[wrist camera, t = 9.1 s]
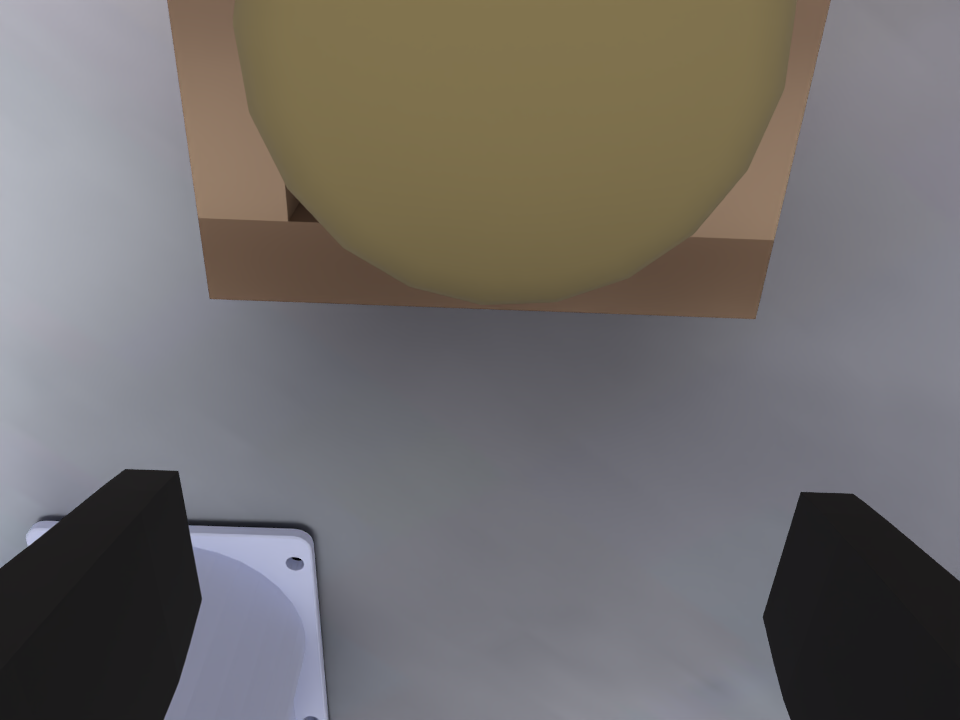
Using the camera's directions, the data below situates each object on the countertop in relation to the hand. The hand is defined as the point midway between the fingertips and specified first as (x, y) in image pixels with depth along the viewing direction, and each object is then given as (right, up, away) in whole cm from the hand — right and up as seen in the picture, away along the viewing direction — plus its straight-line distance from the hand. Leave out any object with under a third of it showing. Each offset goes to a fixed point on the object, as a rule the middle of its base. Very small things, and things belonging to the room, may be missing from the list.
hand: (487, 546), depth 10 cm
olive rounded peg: (0, +10, +6) cm, 12 cm away
